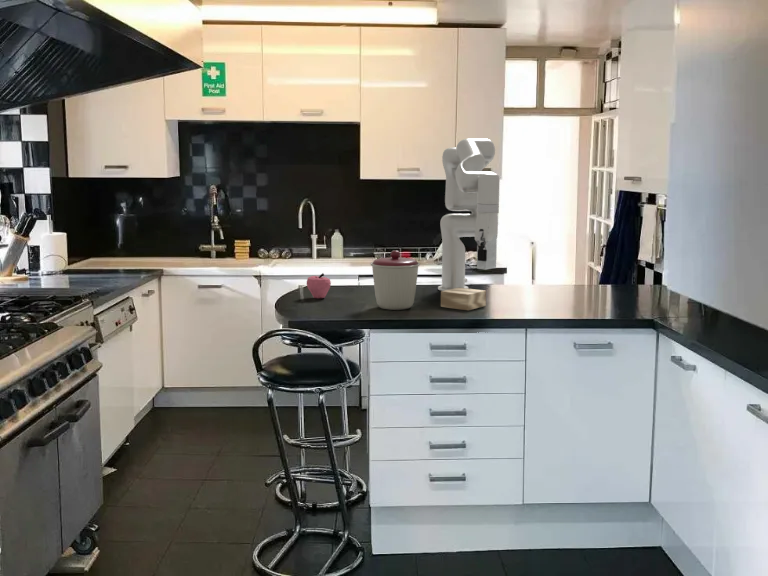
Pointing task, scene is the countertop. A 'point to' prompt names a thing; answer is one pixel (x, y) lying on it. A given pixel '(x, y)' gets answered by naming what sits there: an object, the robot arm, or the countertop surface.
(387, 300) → the canister
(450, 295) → the oak block
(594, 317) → the countertop surface
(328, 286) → the apple
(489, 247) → the skincare box
